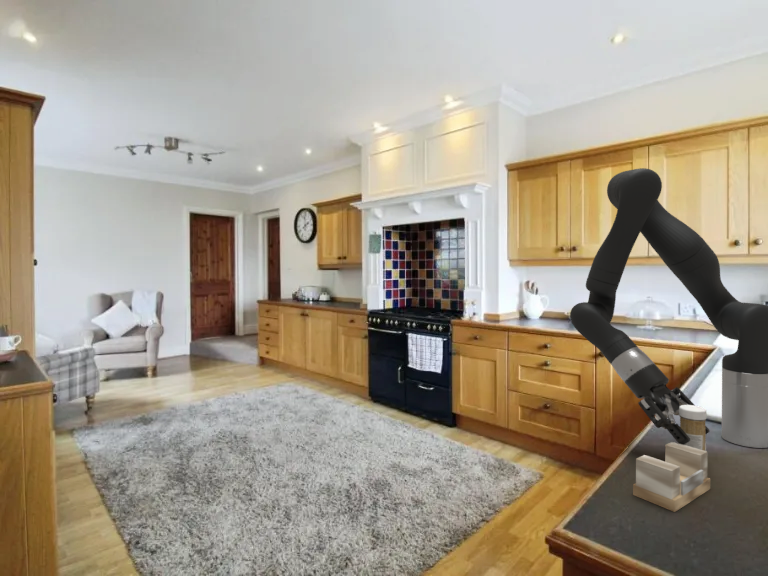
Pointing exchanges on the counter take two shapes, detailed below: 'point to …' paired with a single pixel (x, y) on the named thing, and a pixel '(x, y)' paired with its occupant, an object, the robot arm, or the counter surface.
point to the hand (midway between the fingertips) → (696, 438)
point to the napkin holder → (672, 477)
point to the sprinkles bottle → (694, 425)
